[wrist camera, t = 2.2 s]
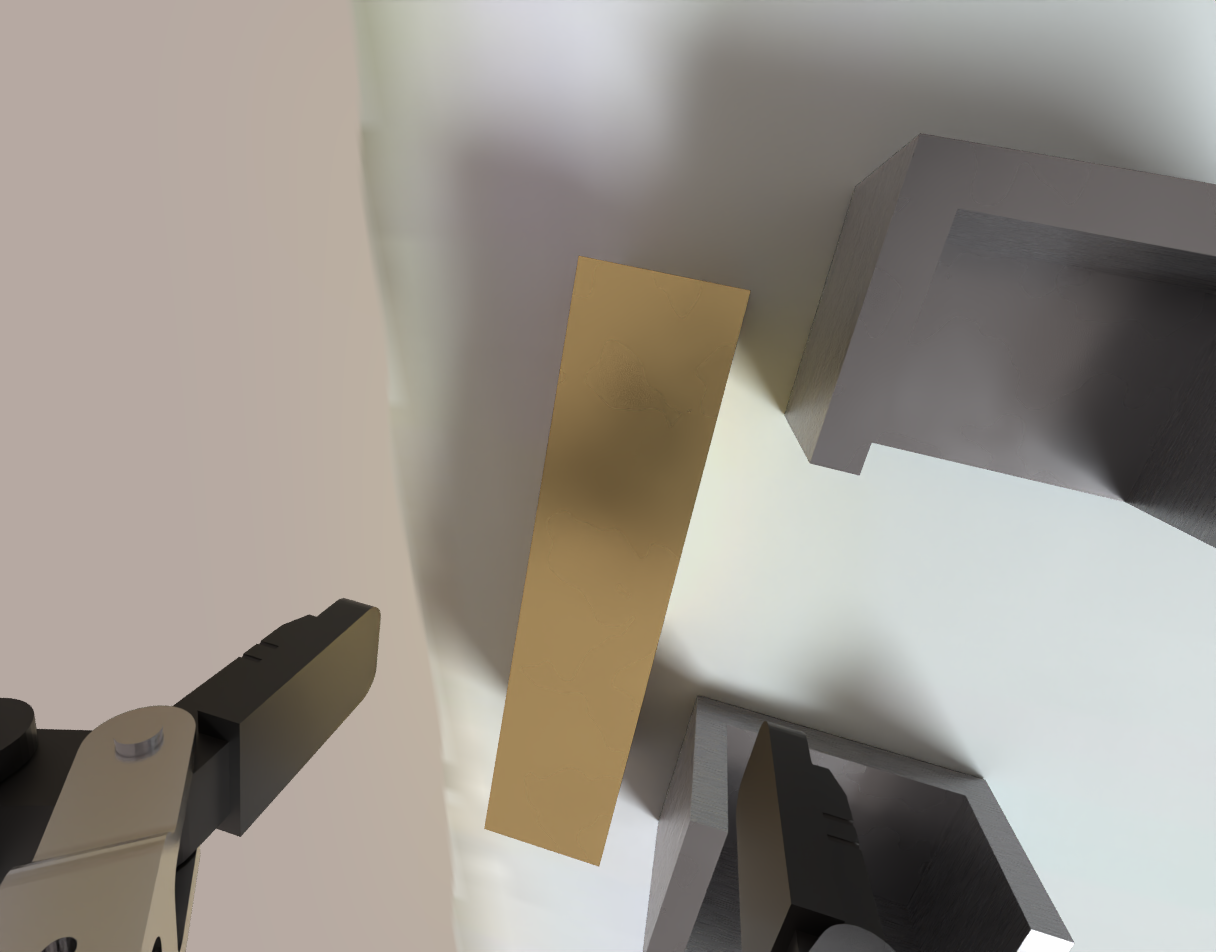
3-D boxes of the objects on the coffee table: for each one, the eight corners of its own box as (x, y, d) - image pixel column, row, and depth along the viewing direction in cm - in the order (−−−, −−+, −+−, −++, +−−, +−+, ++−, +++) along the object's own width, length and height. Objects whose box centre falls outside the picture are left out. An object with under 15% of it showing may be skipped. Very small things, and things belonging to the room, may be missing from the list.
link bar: (619, 267, 16) (578, 255, 12) (742, 292, 16) (750, 290, 11) (535, 712, 22) (484, 828, 17) (626, 739, 21) (599, 866, 16)
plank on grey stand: (855, 186, 14) (919, 133, 10) (1269, 263, 13) (1565, 245, 9) (658, 822, 22) (640, 968, 17) (916, 905, 21) (973, 1085, 16)
